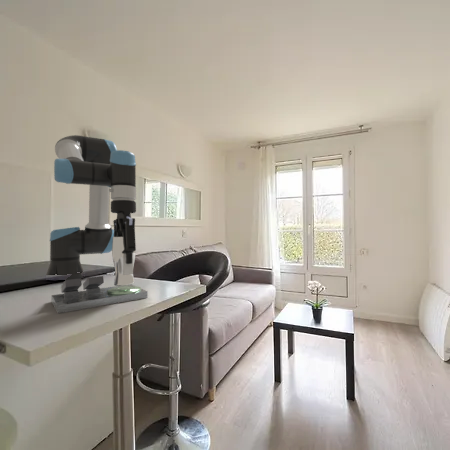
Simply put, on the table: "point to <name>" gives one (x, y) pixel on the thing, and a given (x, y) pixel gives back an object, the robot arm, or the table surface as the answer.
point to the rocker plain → (93, 282)
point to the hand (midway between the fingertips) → (124, 272)
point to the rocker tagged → (71, 285)
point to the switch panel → (96, 297)
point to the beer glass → (120, 263)
